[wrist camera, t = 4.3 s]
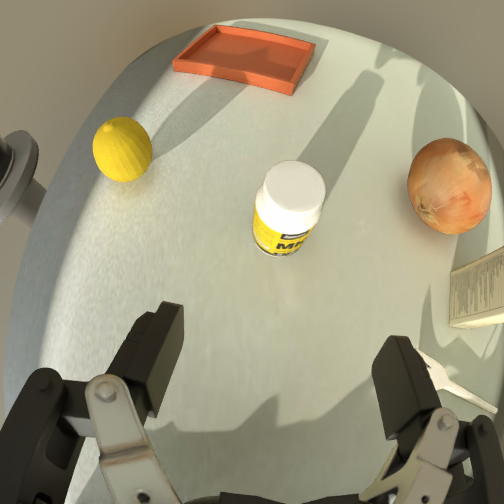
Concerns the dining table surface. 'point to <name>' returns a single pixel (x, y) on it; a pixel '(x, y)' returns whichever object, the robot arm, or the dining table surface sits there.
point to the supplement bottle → (287, 207)
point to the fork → (452, 384)
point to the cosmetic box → (478, 292)
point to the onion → (449, 186)
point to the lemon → (122, 149)
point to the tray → (247, 57)
